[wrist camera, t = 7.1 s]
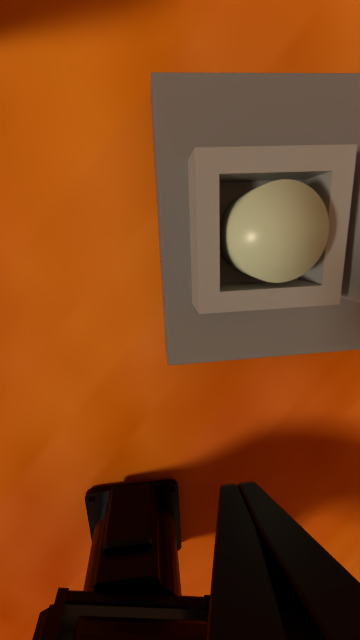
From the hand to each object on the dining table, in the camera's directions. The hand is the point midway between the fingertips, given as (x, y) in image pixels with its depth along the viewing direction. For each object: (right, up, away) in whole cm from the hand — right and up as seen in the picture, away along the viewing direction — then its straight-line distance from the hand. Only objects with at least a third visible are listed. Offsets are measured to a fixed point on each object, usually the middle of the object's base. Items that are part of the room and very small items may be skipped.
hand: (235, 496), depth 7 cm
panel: (+10, +10, +11) cm, 18 cm away
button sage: (+3, +9, +8) cm, 12 cm away
